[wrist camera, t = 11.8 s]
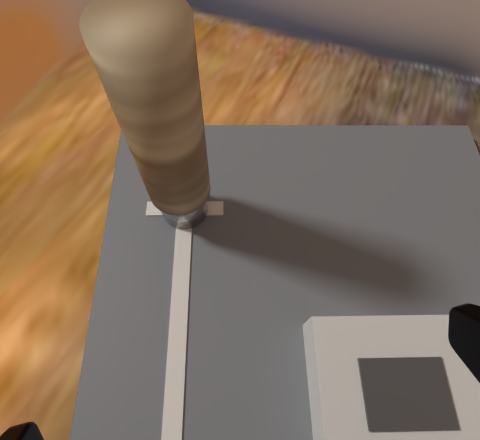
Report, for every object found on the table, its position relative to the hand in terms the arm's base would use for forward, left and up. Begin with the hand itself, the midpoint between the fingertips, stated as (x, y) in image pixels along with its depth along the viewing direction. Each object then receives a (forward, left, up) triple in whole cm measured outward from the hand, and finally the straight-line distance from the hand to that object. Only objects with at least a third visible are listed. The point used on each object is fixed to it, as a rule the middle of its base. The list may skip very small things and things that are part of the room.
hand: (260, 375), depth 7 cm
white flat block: (0, -9, -12) cm, 16 cm away
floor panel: (+6, -4, -14) cm, 15 cm away
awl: (+11, +4, -12) cm, 17 cm away
